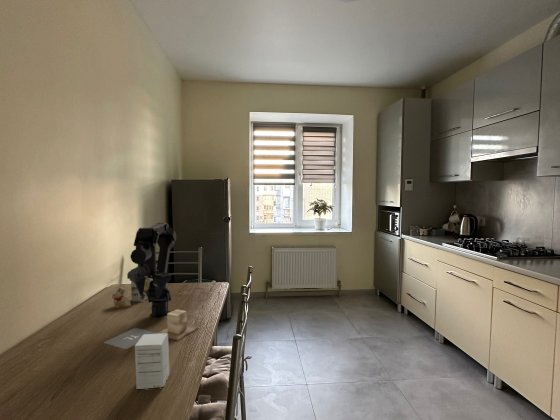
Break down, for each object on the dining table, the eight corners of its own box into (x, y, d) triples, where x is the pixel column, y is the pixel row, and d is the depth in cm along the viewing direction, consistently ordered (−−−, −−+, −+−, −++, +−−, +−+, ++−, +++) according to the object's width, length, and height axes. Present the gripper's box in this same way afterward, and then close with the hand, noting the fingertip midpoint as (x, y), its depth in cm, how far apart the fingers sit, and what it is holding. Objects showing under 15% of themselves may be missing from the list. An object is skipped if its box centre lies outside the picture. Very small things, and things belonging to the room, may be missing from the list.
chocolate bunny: (121, 303, 159) (121, 283, 158) (132, 305, 155) (131, 285, 154) (111, 306, 154) (110, 286, 153) (122, 309, 150) (121, 288, 149)
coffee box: (142, 302, 160) (141, 270, 159) (131, 301, 161) (130, 269, 160) (153, 296, 169) (152, 265, 168) (142, 295, 170) (141, 265, 169)
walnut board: (177, 324, 132) (177, 322, 132) (198, 329, 127) (198, 327, 127) (156, 335, 122) (156, 333, 122) (178, 340, 117) (178, 338, 117)
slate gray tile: (135, 328, 129) (135, 327, 129) (157, 334, 124) (157, 333, 124) (102, 343, 116) (102, 342, 116) (125, 350, 111) (125, 349, 111)
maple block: (177, 326, 128) (176, 309, 127) (186, 328, 126) (186, 311, 125) (167, 331, 123) (167, 313, 123) (177, 333, 121) (177, 315, 121)
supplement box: (144, 375, 95) (143, 333, 94) (170, 374, 96) (168, 332, 95) (135, 390, 88) (133, 345, 87) (163, 389, 88) (161, 344, 88)
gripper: (114, 260, 126) (116, 299, 127) (149, 264, 118) (150, 306, 119) (138, 255, 136) (139, 291, 137) (171, 259, 128) (172, 297, 129)
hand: (149, 296), depth 130 cm, fingers open, 9 cm apart
